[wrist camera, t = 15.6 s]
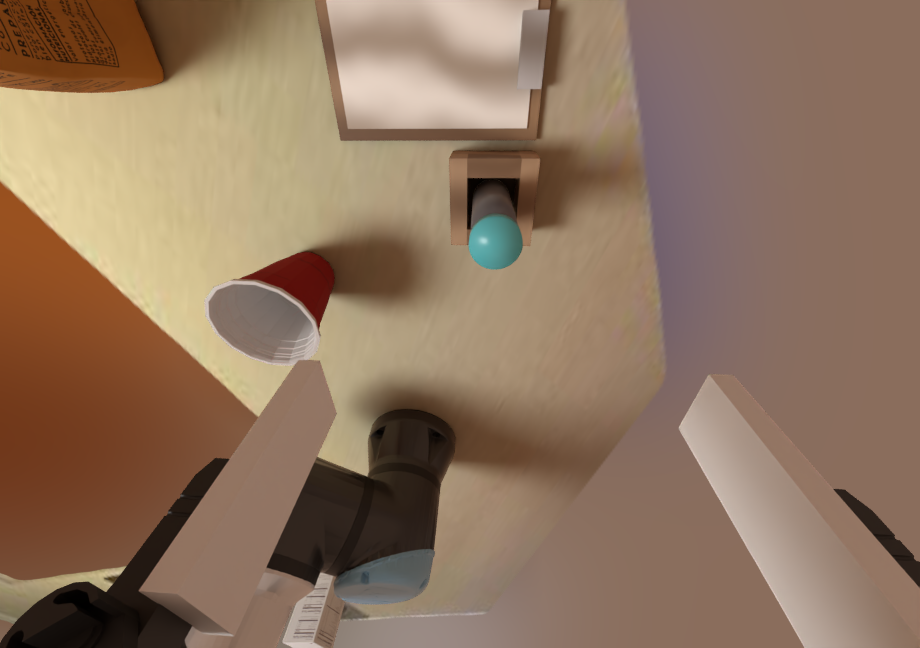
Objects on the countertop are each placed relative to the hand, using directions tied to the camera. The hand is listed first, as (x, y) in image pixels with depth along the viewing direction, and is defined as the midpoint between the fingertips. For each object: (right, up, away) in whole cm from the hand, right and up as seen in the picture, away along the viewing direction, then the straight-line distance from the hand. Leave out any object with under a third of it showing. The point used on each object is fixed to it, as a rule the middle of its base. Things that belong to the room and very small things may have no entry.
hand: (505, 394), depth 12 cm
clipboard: (-4, +26, +17) cm, 31 cm away
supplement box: (-39, -69, +86) cm, 117 cm away
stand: (+2, +16, +23) cm, 29 cm away
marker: (+2, +16, +23) cm, 29 cm away
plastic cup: (-20, +9, +31) cm, 38 cm away
